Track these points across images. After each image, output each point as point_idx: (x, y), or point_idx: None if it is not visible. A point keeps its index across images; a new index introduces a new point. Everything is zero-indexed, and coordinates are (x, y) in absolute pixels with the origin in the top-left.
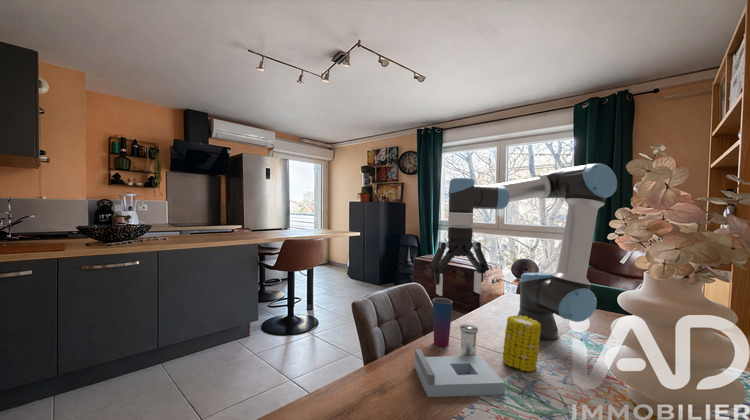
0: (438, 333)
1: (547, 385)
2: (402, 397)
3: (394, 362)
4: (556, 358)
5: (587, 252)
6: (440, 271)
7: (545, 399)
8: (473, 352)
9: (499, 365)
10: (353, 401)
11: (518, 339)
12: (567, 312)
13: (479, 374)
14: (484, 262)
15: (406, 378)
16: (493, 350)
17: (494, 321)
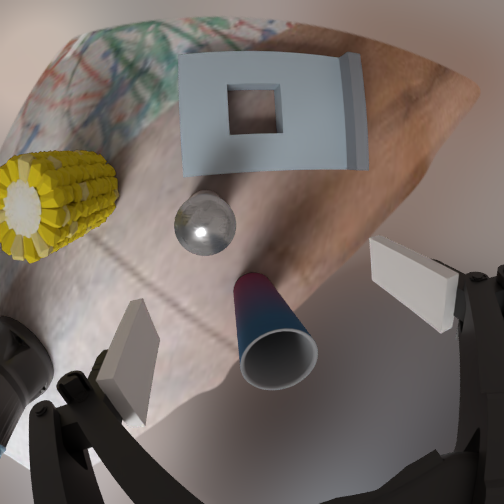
0: (273, 287)
1: (71, 109)
2: (380, 74)
3: (381, 191)
4: None
5: None
6: (473, 286)
7: (106, 60)
8: (196, 194)
9: (133, 182)
10: (438, 85)
11: (69, 160)
12: None
13: (224, 83)
14: (45, 454)
15: (369, 127)
16: (121, 262)
17: None
